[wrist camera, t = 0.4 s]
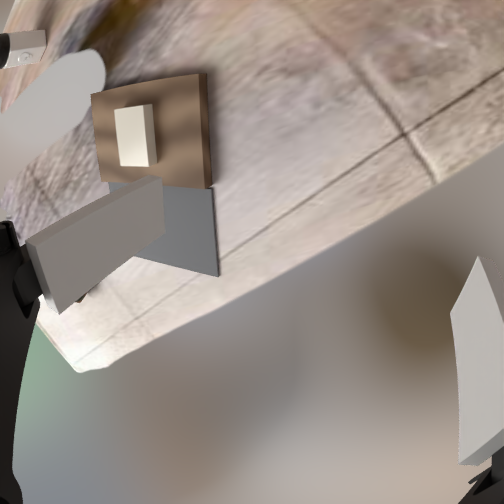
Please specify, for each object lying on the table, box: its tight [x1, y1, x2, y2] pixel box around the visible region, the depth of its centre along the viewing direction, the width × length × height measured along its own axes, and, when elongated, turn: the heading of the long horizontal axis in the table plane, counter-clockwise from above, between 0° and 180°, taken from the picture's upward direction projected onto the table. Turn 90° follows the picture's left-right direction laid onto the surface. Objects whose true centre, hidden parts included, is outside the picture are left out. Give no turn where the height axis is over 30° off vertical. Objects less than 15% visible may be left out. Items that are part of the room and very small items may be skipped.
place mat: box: [108, 182, 219, 277], centre depth 51 cm, size 15×22×1 cm
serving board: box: [91, 74, 212, 189], centre depth 43 cm, size 16×22×2 cm
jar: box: [0, 30, 47, 69], centre depth 38 cm, size 9×8×12 cm
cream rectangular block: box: [114, 104, 157, 167], centre depth 41 cm, size 9×6×2 cm, turn 1°
